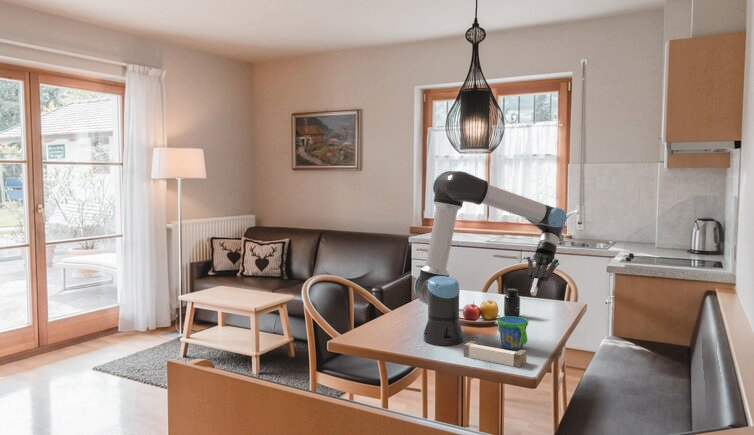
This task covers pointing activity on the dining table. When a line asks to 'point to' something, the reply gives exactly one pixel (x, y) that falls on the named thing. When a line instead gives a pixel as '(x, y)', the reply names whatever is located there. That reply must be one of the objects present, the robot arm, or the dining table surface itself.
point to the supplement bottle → (512, 303)
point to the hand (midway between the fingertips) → (532, 293)
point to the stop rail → (495, 354)
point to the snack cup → (512, 332)
